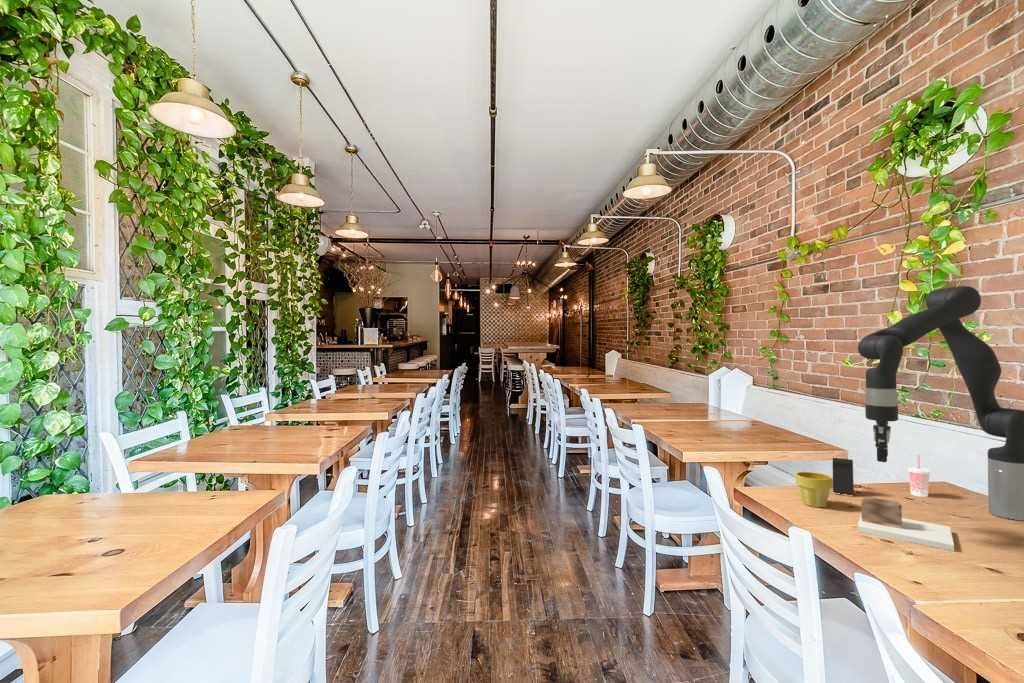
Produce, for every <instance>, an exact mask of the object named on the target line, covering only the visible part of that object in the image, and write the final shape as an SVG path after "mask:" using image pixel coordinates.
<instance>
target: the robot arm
mask: <svg viewBox="0 0 1024 683" xmlns="http://www.w3.org/2000/svg"><path fill="white" fill-rule="evenodd" d="M981 300H982V297H981V294H980V293H979V291H978V290H977V289H976V288H974V287H972V286H968V285H960V286H959V285H958V286H953V287H944V288H938V289H933V290H931V291H929V293H928V294H927V295H926V299H925V304H926V307H927V309H924V310H922V311H918V312H916V313H913V314H911V315H908V316H906V317H904V318H902V319H900V320H898V321H897V322H895V323H894V324H892V325H890V326H889V327H886V328H883V329H880V330H877V331H875V332H872V333H869V334H868V335H866V336H864V337H863V338H862V339H861V340H860V341H859V343H858V346H857V352H858V353H859V355H860V356H861V357H862V358H864V359H867V360H879V362H878V365H877V366H876V367H870V368H868V369H866V371H865V393H864V398H865V400H864V404H865V406H864V407H865V409H864V410H865V419H866V420H870V421H875V422H876V424H874V425H873V426H872V432H873V440H874V442H875V444H874V445H875V448H876V461H877V462H880V463H887V462H888V456H889V446H888V444H889V442H890V439H891V432H892V431H891V429H892V428H891V427H892V426H890V425H889V422H897V421H898V420H899V396H898V391H897V373H898V371H899V366H900V364H901V360H902V357H903V354H904V347H907V346H909V345H911V344H913V343H914V342H916V341H917V340H920V339H921V338H923V337H924V336H927V334H929V333H931V332H933V331H935V330H937V329H938V330H939V331H940V333H941V335H942V336H943V338H944V341H945V342H946V345H947V346H948V348H949V351H950V353H951V355H952V357H953V359H954V363H955V365H956V367H957V370H958V371H959V373H960V375H961V377H962V379H963V382H964V384H965V386H966V389H967V391H968V393H969V396H970V398H971V401H972V405H973V408H974V411H975V416H976V419H977V422H978V424H979V426H980V427H981V429H982V431H983V432H984V433H986V434H988V436H989V435H990V436H994V437H997V438H998V437H999V438H1003V439H1004V438H1005V444H1004V445H1002V446H997V447H991V448H989V449H988V450H987V487H988V488H987V493H988V495H987V496H988V497H987V498H988V504H987V505H988V513H989V514H992V515H993V516H996V517H998V518H999V517H1000V518H1003V519H1008V518H1009V520H1013V519H1014V521H1021V522H1022V521H1024V410H1023V409H1015V408H1009V407H1006V408H1005V407H1001V406H1000V404H999V403H998V400H997V397H996V395H995V389H996V386H997V385H998V382H999V380H1000V378H1001V375H1002V367H1001V364H1000V362H999V360H998V357H997V355H996V353H995V350H993V348H992V347H991V346H990V345H989V344H987V343H986V341H984V340H983V339H982V338H980V337H978V336H977V335H975V334H974V333H972V332H971V331H970V330H969V329H967V328H966V327H965V325H963V323H962V321H961V320H960V319H962V318H964V317H969V316H971V315H972V314H974V313H975V312H977V311H978V310H979V308H980V306H981V304H982V301H981Z"/></svg>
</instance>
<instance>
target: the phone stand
mask: <svg viewBox="0 0 1024 683" xmlns="http://www.w3.org/2000/svg"><path fill="white" fill-rule="evenodd" d="M832 480H833V485H832V493H833V492H835V493H840V494H847V495H854V496H855V494H854V493H855V490H854V487H855V486H854V461H853V459H851V458H849V459H848V458H839V457H832Z"/></svg>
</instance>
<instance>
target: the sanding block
mask: <svg viewBox="0 0 1024 683" xmlns="http://www.w3.org/2000/svg"><path fill="white" fill-rule="evenodd" d="M860 507H861V512H862V521H863V522H869V523H874V524H879V525H884V526H890V527H895V528H900V529H902V518H903V516H902V515H903V514H902V511H903V510H902V508H903V507H902V504H900V501H894V500H887V499H882V498H876V497H869V496H864V498H862V500H861V506H860ZM861 512H860V513H861Z"/></svg>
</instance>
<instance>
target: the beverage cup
mask: <svg viewBox="0 0 1024 683" xmlns="http://www.w3.org/2000/svg"><path fill="white" fill-rule="evenodd" d="M920 457H921V456H920V455H917V467H914V466H913V467H912V466H911V467H907V471H908V477H909V487H910V495H912V496H915V497H920V498H921V497H922V498H928V497H929V484H930V474H931V470H930V469H927V468H923V467H922V468H921V465H920V461H921V460H920Z"/></svg>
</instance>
